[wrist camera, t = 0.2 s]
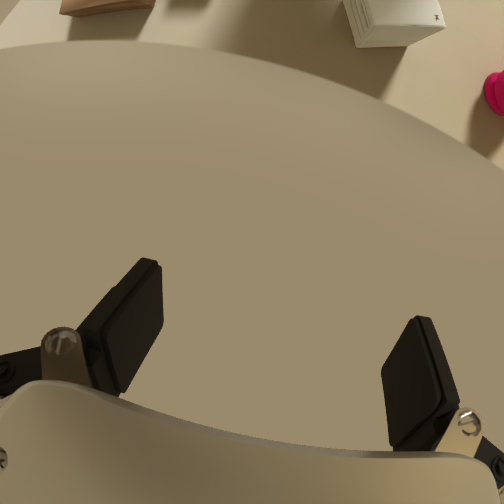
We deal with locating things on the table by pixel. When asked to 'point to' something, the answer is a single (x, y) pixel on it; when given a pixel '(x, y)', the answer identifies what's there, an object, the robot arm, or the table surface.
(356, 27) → the supplement box
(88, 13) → the walnut riser block
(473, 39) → the table surface
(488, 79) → the pepper mill
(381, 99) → the table surface
